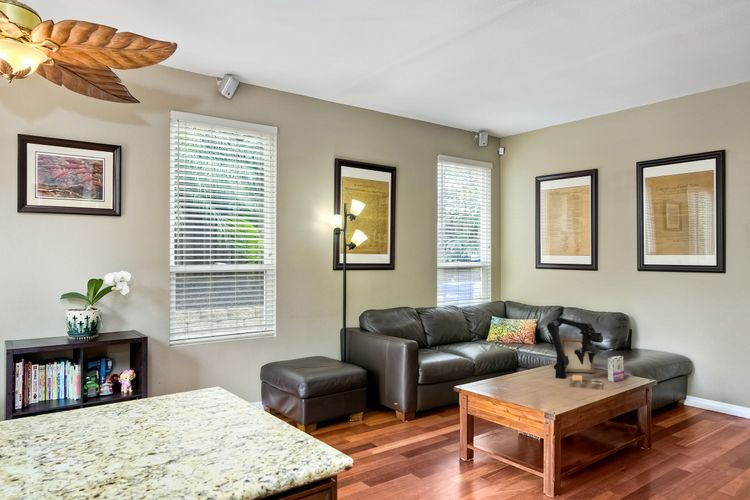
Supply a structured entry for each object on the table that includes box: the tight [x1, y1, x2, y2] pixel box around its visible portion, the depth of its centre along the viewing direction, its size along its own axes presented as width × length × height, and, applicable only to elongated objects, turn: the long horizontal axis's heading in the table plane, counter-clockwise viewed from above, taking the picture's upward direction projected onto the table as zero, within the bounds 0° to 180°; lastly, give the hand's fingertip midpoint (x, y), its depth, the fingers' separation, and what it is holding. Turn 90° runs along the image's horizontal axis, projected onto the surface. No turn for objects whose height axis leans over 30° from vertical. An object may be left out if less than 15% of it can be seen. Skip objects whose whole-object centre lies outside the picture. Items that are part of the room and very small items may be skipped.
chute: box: [568, 377, 603, 390], centre depth 334 cm, size 20×10×4 cm, turn 66°
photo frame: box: [560, 337, 595, 374], centre depth 379 cm, size 15×22×25 cm
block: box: [572, 374, 583, 382], centre depth 336 cm, size 6×6×5 cm
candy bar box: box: [606, 355, 625, 383], centre depth 349 cm, size 11×5×16 cm, turn 117°
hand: (586, 363), depth 345 cm, fingers open, 9 cm apart
